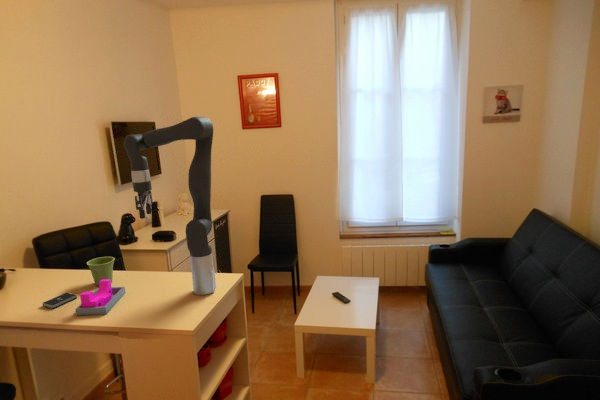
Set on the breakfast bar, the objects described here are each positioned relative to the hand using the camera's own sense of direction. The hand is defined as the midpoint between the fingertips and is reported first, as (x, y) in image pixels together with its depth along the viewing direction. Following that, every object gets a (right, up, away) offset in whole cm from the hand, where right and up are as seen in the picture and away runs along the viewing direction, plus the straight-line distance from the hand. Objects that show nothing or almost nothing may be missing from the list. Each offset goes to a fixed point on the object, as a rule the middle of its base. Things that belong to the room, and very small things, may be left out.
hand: (146, 216), depth 176 cm
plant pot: (-24, -32, +10) cm, 42 cm away
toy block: (-14, -36, -12) cm, 41 cm away
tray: (-14, -36, -11) cm, 40 cm away
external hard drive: (-33, -37, -8) cm, 50 cm away
